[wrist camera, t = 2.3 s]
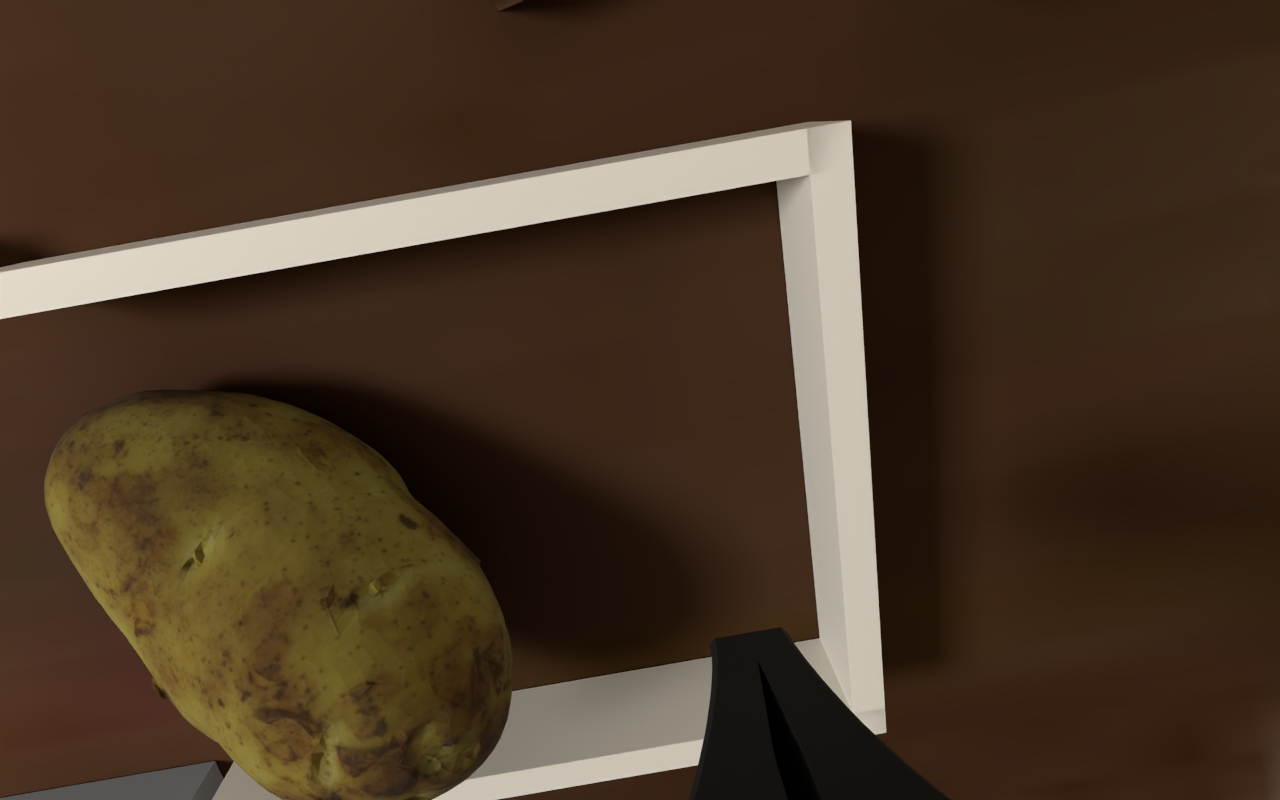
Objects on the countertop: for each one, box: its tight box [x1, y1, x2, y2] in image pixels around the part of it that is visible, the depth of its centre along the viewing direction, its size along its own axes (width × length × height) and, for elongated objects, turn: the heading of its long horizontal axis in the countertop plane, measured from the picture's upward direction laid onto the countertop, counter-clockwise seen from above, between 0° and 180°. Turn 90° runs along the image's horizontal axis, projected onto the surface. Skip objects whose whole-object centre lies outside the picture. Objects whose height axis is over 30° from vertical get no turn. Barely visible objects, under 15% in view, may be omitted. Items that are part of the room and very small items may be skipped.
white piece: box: [0, 121, 886, 800], centre depth 21 cm, size 18×22×4 cm
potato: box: [44, 390, 514, 800], centre depth 19 cm, size 8×13×8 cm, turn 32°
